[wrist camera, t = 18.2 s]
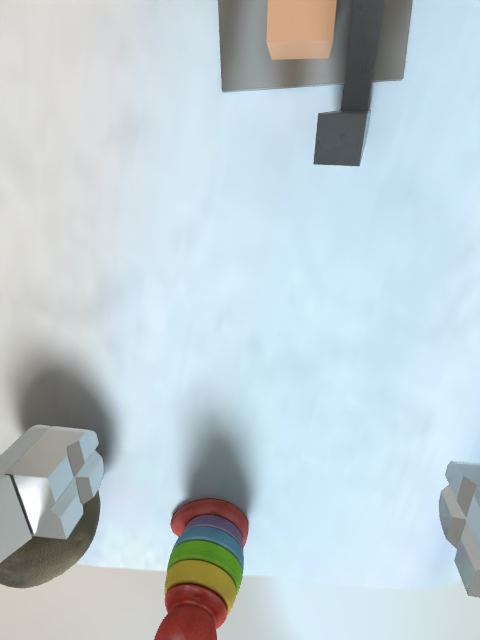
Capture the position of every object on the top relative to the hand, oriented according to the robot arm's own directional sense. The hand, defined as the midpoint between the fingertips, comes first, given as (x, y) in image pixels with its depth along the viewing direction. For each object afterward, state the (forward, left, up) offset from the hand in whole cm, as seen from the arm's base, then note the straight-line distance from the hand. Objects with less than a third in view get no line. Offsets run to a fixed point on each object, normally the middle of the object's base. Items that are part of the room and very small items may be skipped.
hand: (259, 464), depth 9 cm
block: (0, +17, -28) cm, 33 cm away
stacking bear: (-10, -40, -29) cm, 51 cm away
